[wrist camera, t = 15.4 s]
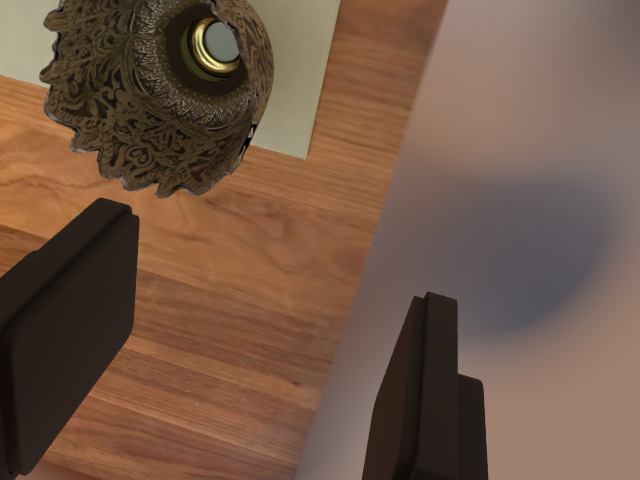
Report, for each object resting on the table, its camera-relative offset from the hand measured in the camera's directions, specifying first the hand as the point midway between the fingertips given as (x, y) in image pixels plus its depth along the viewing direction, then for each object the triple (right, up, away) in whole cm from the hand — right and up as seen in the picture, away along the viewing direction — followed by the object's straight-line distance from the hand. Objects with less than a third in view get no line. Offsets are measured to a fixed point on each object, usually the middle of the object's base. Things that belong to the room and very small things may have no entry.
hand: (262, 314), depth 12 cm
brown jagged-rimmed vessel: (-3, +10, +15) cm, 18 cm away
